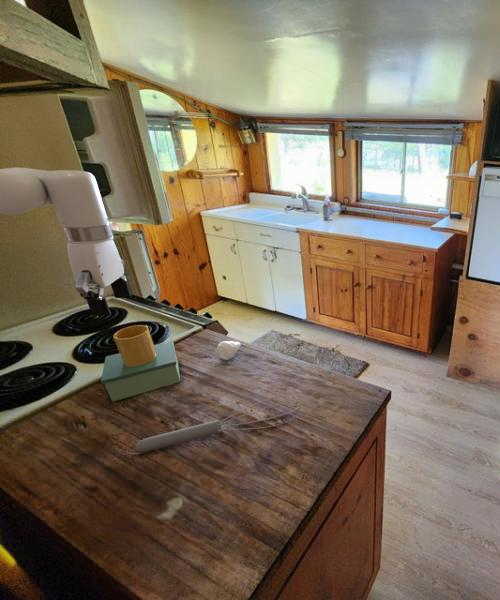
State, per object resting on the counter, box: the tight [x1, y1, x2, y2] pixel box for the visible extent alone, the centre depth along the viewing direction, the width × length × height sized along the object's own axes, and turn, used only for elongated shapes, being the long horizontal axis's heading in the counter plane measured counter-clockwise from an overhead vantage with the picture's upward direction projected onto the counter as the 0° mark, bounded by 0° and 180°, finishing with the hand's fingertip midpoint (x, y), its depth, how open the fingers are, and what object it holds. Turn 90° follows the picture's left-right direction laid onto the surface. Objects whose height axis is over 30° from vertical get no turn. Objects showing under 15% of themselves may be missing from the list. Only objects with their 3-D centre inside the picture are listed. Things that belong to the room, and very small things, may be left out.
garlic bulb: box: [216, 340, 242, 361], centre depth 96 cm, size 6×6×5 cm
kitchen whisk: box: [125, 395, 301, 455], centre depth 70 cm, size 6×34×6 cm, turn 111°
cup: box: [112, 324, 157, 367], centre depth 81 cm, size 7×7×8 cm
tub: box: [100, 340, 181, 402], centre depth 84 cm, size 15×12×7 cm
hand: (113, 305), depth 76 cm, fingers open, 9 cm apart
